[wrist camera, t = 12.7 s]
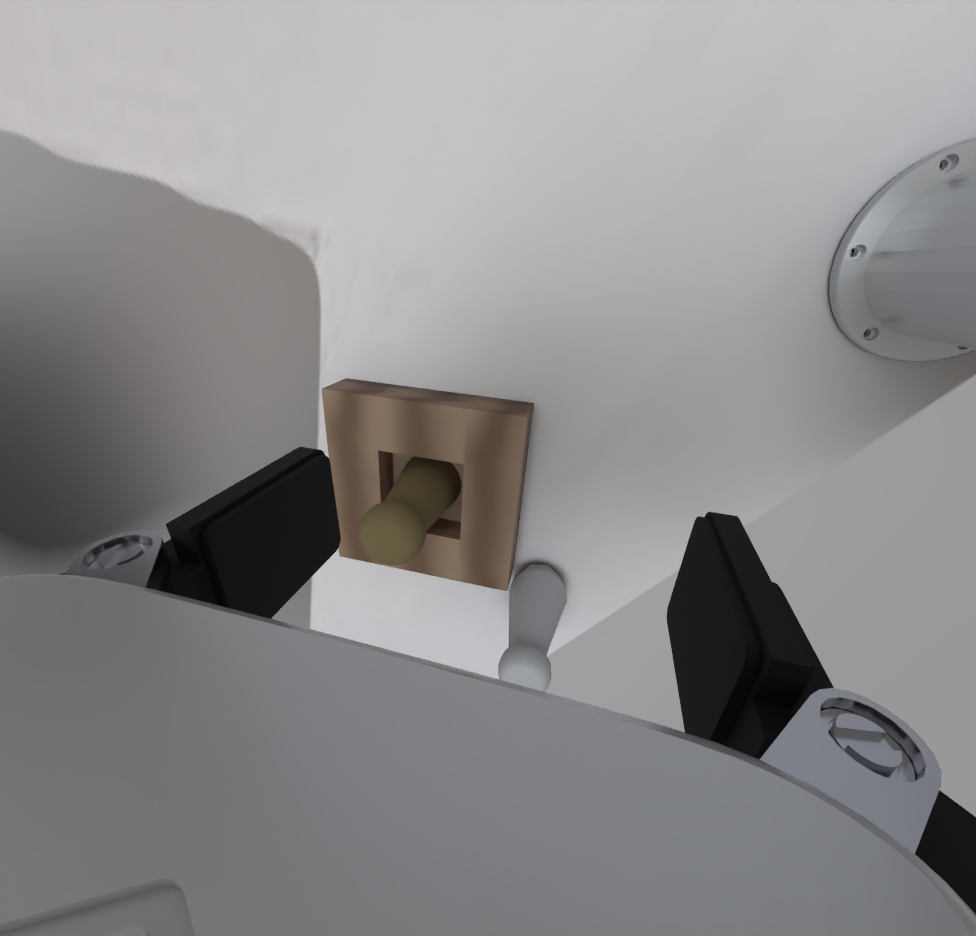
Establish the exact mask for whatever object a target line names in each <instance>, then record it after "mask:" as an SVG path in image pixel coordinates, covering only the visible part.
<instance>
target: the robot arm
mask: <svg viewBox="0 0 976 936" xmlns="http://www.w3.org/2000/svg"><path fill="white" fill-rule="evenodd" d="M940 162H942V167H941V169H940V168H939V167H940ZM852 249H854V254H853V255H852V256H851V257H850V251H851V250H852ZM829 297H830V302H831V308H832V313H833V315H834V317H835V319H836V321H837V323H838V326H839V327H840V329H841V330H842V331H843V332H844V333H845V335H846V336H847V337H848V338H849V339H850V340H851V341H852V342H854V343H855V344H857V345H858V346H859V347H861V348H862V349H864V350H867V351H869V352H871V353H874V354H876V355H879V356H882V357H887V358H890V359H894V360H902V361H912V362H920V361H936V360H941V359H946V358H951V357H955V356H960V355H963V354H965V353H968V352H971V351H974V350H976V138H974V139H970V140H966V141H964V142H961V143H958V144H955V145H953V146H950V147H947V148H945V149H942V150H940V151H938V152H936V153H934V154H932V155H930V156H928V157H926V158H924V159H922V160H920V161H918V162H917V163H915V164H914V165H912V166H911V167H909V168H908V169H906V170H905V171H904V172H902V173H901V174H899V175H898V176H896V177H895V178H894V179H892V180H891V181H890V182H889V183H888V184H887V185H886V186H885V187H884V188H882V189H881V190H880V191H879V192H878V193H877V194H876V195H875V196H874V197H873V198H872V199H871V200H870V201H869V202H868V204H867V205H866V206H865V207H864V208H863V209H862V211H861V212H860V213H859V214H858V215H857V217H856V218H855V220H854V221H853V223H852V224H851V226H850V228H849V229H848V231H847V232H846V234H845V235H844V237H843V240H842V242H841V244H840V246H839V249H838V251H837V253H836V256H835V258H834V263H833V267H832V271H831V275H830V289H829ZM866 330H867V333H866V335H864V332H865V331H866ZM863 335H864V336H863ZM166 526H167V529H168V531H169V534H170V537H171V539H170V540H169V541H167V542H165V543H164V542H163V540H162V537H161V536H160V535H159V534H158V533H154V532H152V531H133V532H126V533H122V534H118V535H114V536H111V537H108V538H106V539H103V540H100V541H99V542H96V543H94V544H92V545H90V546H89V547H87V548H86V549H84V550H83V551H82V552H80V553H79V554H78V555H77V556H76V557H75V558H74V559H73V561H72V562H71V564H70V566H69V567H68V569H67V570H66V572H65V573H63V574H58V575H51V574H36V575H23V576H22V575H21V576H9V577H0V936H976V817H975V816H973V815H972V814H970V813H969V812H968V811H967V810H965V809H964V808H963V807H961V806H960V805H958V804H957V803H956V802H954V801H953V800H952V799H950V798H949V797H948V796H946V795H945V794H944V793H942V792H941V791H940V790H939V789H940V787H941V769H940V767H939V765H938V762H937V760H936V757H935V755H934V754H933V752H932V751H931V750H930V748H929V747H928V746H927V745H926V743H925V742H924V740H923V739H922V738H921V737H920V736H919V735H918V734H917V733H916V732H915V731H914V730H913V729H912V728H910V726H909V725H908V724H906V723H905V722H904V721H903V720H901V719H900V718H899V717H897V716H896V715H894V714H893V713H892V712H890V711H889V710H888V709H886V708H885V707H883V706H881V705H879V704H877V703H876V702H874V701H872V700H870V699H868V698H866V697H863V696H861V695H858V694H855V693H853V692H850V691H847V690H840V689H835V688H834V687H833V686H832V684H831V682H830V680H829V678H828V676H827V674H826V672H825V670H824V669H823V667H822V665H821V663H820V661H819V659H818V657H817V655H816V654H815V652H814V650H813V648H812V646H811V644H810V642H809V640H808V639H807V637H806V635H805V633H804V632H803V629H802V628H801V625H800V624H799V622H798V620H797V618H796V616H795V614H794V612H793V610H792V609H791V607H790V605H789V603H788V601H787V599H786V597H785V595H784V594H783V592H782V590H781V588H780V587H779V586H778V584H776V583H773V582H771V580H770V578H769V576H768V574H767V572H766V570H765V568H764V566H763V564H762V562H761V560H760V558H759V556H758V555H757V552H756V551H755V549H754V547H753V545H752V543H751V541H750V539H749V537H748V535H747V533H746V531H745V529H744V527H743V525H742V523H741V521H740V519H739V518H738V517H737V516H732V515H726V514H719V513H713V512H708V513H707V514H706V516H705V518H704V517H697V518H696V520H695V522H694V525H693V528H692V532H691V535H690V538H689V541H688V544H687V548H686V551H685V554H684V557H683V560H682V564H681V567H680V570H679V573H678V576H677V580H676V583H675V586H674V589H673V592H672V596H671V599H670V602H669V606H668V610H667V624H668V630H669V636H670V642H671V648H672V654H673V661H674V667H675V673H676V679H677V685H678V691H679V698H680V704H681V710H682V716H683V722H684V729H685V733H684V732H681V731H678V730H675V729H672V728H669V727H666V726H663V725H659V724H656V723H652V722H649V721H646V720H642V719H639V718H635V717H632V716H628V715H625V714H621V713H618V712H614V711H611V710H607V709H603V708H600V707H597V706H593V705H589V704H586V703H583V702H579V701H576V700H572V699H569V698H565V697H561V696H557V695H554V694H550V693H547V692H543V691H539V690H536V689H532V688H528V687H524V686H521V685H517V684H513V683H510V682H506V681H502V680H499V679H495V678H491V677H488V676H484V675H480V674H476V673H473V672H469V671H465V670H462V669H458V668H454V667H451V666H447V665H443V664H440V663H436V662H432V661H428V660H425V659H421V658H417V657H413V656H409V655H406V654H402V653H398V652H394V651H391V650H387V649H383V648H379V647H376V646H372V645H368V644H364V643H361V642H357V641H353V640H349V639H345V638H342V637H338V636H334V635H330V634H326V633H323V632H319V631H315V630H311V629H307V628H304V627H300V626H296V625H292V624H288V623H284V622H280V621H276V620H273V619H271V618H272V617H273V616H274V614H276V613H277V612H278V611H279V610H280V608H282V606H283V605H284V604H285V603H286V602H287V601H288V600H289V599H290V598H291V597H292V596H293V595H294V594H295V593H296V592H297V591H298V590H299V589H300V588H301V587H302V585H304V584H305V583H306V582H307V581H308V580H309V579H310V577H311V576H312V575H313V574H314V573H315V572H316V571H317V570H318V569H319V568H320V567H321V566H322V565H323V564H324V563H325V562H326V561H327V560H328V559H329V558H330V557H331V556H332V555H333V554H334V553H335V552H336V550H337V549H338V547H339V545H340V541H341V535H340V528H339V521H338V514H337V507H336V500H335V493H334V486H333V479H332V472H331V465H330V460H329V458H328V457H327V456H325V454H324V452H323V451H321V450H317V449H311V448H305V447H299V448H297V449H295V450H293V451H292V452H290V453H288V454H287V455H285V456H283V457H281V458H280V459H278V460H276V461H274V462H273V463H271V464H269V465H267V466H266V467H264V468H262V469H260V470H259V471H257V472H256V473H254V474H252V475H250V476H248V477H247V478H245V479H243V480H241V481H240V482H238V483H236V484H234V485H233V486H231V487H229V488H227V489H226V490H224V491H222V492H221V493H219V494H217V495H215V496H214V497H212V498H210V499H208V500H207V501H205V502H203V503H201V504H200V505H198V506H196V507H195V508H193V509H191V510H189V511H188V512H186V513H184V514H183V515H181V516H179V517H177V518H175V519H174V520H172V521H170V522H169V523H167V524H166Z"/></svg>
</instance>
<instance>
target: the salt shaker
mask: <svg viewBox="0 0 976 936" xmlns="http://www.w3.org/2000/svg"><path fill="white" fill-rule="evenodd" d="M566 601H567V597H566V587H565V585H564V583H563V582H562V580H561V578H560V577H559V575H558V574H557V573H556V572H555V571H554V570H553V569H552V568H551V567H550V566H549V565H546V564H530V565H529V566H528V567H527V568H526V569H525V570H523V571H522V572H520V573H519V574H517V575H516V576H515V578H514V580H513V582H512V584H511V586H510V595H509V648H508V649H506V650H505V652H504V653H503V655H502V657H501V659H500V662H499V667H498V673H499V679H500V680H502V681H506V682H510V683H513V684H517V685H521V686H524V687H528V688H532V689H536V690H539V691H543V692H545V691H546V690H547V688H548V686H549V684H550V681H551V664H550V661H549V659H548V658H547V656H546V655H547V652H548V649H549V646H550V644H551V641H552V638H553V636H554V633H555V630H556V628H557V625H558V623H559V620H560V617H561V615H562V612H563V609H564V607H565V604H566Z"/></svg>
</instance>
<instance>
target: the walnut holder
mask: <svg viewBox="0 0 976 936" xmlns="http://www.w3.org/2000/svg"><path fill="white" fill-rule="evenodd" d="M322 396H323V405H324V415H325V424H326V433H327V443H328V452H329V460H330V465H331V472H332V479H333V486H334V493H335V500H336V507H337V514H338V521H339V528H340V535H341V541H340V545H339V555H340V556H342V557H346V558H351V559H356V560H361V561H366V562H370V563H375V564H380V565H385V566H389V567H394V568H399V569H404V570H409V571H413V572H418V573H423V574H428V575H432V576H437V577H442V578H447V579H451V580H456V581H461V582H466V583H471V584H475V585H480V586H485V587H490V588H494V589H499V590H504V591H507V589H508V586H509V582H510V578H511V574H512V570H513V566H514V559H515V550H516V542H517V534H518V526H519V518H520V510H521V502H522V493H523V485H524V477H525V469H526V461H527V453H528V444H529V436H530V428H531V420H532V412H533V404H534V403H527V402H520V401H512V400H504V399H497V398H489V397H482V396H474V395H467V394H459V393H451V392H444V391H436V390H429V389H421V388H414V387H406V386H398V385H391V384H383V383H376V382H368V381H361V380H353V379H344V380H341V381H339V382H337V383H334V384H332V385H330V386H327V387H325V388H323V389H322ZM414 456H416V457H422V458H428V459H435V460H441V461H447V462H451V463H452V464H453V465H454V466H455V468H456V469H457V471H458V473H459V475H460V479H461V483H462V484H461V492H460V494H459V496H458V498H457V499H456V500H455V501H454V503H453V504H452V505H451V506H450V507H449V508H448V509H447V510H446V511H445V512H444V513H443V514H442V515H441V516H440V517H439V518H438V519H437V520H436V521H435V522H434V523H433V524H432V526H431V527H430V528H429V529H428V530H427V531H426V538H425V543H424V545H423V547H422V549H421V550H420V552H419V554H418V555H416V556H415V557H414V558H413V559H412V560H410V561H409V562H407V563H404V564H401V565H386V564H382V563H380V562H378V561H376V560H374V559H373V558H372V557H370V556H369V555H368V554H367V553H366V551H365V550H364V549H363V547H362V545H361V542H360V539H359V526H360V524H361V521H362V519H363V516H364V515H365V514H366V513H367V512H368V511H369V510H370V509H371V508H372V507H373V506H374V505H376V504H379V503H381V502H383V501H385V499H386V498H387V496H388V494H389V493H390V491H391V489H392V488H393V486H394V484H395V482H396V481H397V479H398V477H399V476H400V474H401V472H402V471H403V469H404V467H405V466H406V464H407V463H408V462H409V460H410V459H411V458H412V457H414Z"/></svg>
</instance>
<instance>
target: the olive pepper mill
mask: <svg viewBox="0 0 976 936" xmlns="http://www.w3.org/2000/svg"><path fill="white" fill-rule="evenodd" d="M461 484H462V483H461V479H460V475H459V473H458V471H457V469H456V468H455V466H454V465H453V464H452V463H451V462H447V461H441V460H435V459H428V458H422V457H416V456H414V457H412V458H411V459H410V460H409V462H408V463H407V464H406V466H405V467H404V469H403V471H402V472H401V474H400V476H399V477H398V479H397V481H396V482H395V484H394V486H393V488H392V489H391V491H390V493H389V494H388V496H387V498H386V499H385V501H383V502H381V503H379V504H376V505H374V506H373V507H372V508H371V509H370V510H369V511H368V512H367V513H366V514H365V515H364V516H363V519H362V521H361V524H360V526H359V539H360V542H361V545H362V547H363V549H364V550H365V551H366V553H367V554H368V555H369V556H370V557H372V558H373V559H374V560H376V561H378V562H380V563H382V564H386V565H401V564H404V563H407V562H409V561H410V560H412V559H413V558H414V557H415V556H416V555H418V554H419V552H420V550H421V549H422V547H423V545H424V543H425V538H426V531H427V530H428V529H429V528H430V527H431V526H432V524H433V523H434V522H435V521H436V520H437V519H438V518H439V517H440V516H441V515H442V514H443V513H444V512H445V511H446V510H447V509H448V508H449V507H450V506H451V505H452V504H453V503H454V501H455V500H456V499H457V498H458V496H459V494H460V492H461Z"/></svg>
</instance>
